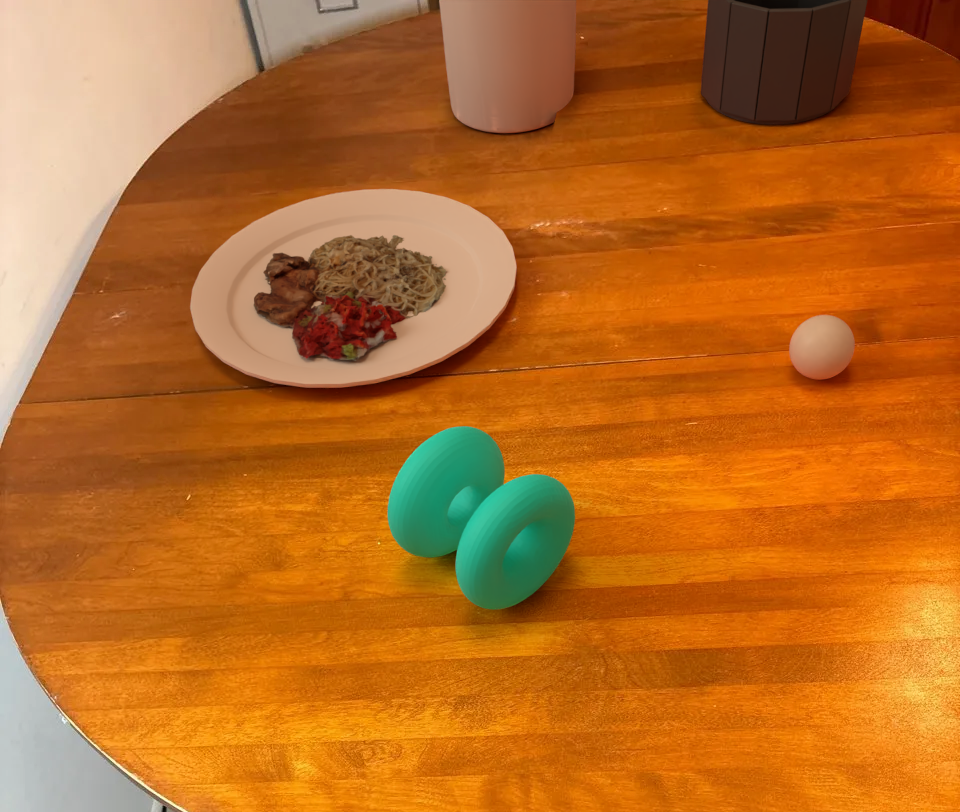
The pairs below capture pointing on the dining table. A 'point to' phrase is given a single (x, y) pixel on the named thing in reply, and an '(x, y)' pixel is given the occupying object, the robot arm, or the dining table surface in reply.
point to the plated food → (353, 288)
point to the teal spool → (481, 517)
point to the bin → (780, 57)
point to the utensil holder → (509, 61)
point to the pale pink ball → (822, 347)
